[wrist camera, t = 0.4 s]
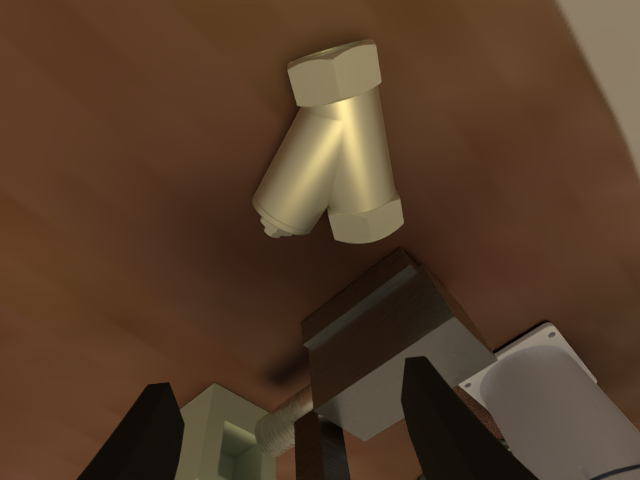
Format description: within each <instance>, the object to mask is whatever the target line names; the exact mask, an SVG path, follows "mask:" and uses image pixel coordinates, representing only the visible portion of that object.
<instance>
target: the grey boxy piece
mask: <svg viewBox="0 0 640 480" xmlns="http://www.w3.org/2000/svg"><path fill="white" fill-rule="evenodd" d="M301 324H302V337H303V345H304V346H306V347H307V348H308V357H309V368H310V379H311V390H312V401H313V411H314V412H316V413H318V414H319V415H321V416H323V417H324V418H326V419H328V420H329V421H331V422H333V423H335V424H336V425H338V426H340V427H341V428H343V429H345V430H346V431H348V432H350V433H351V434H353V435H355V436H357V437H358V438H360V439H362V440H363V441H366V440H368V439H370V438H371V437H373V436H375V435H376V434H378V433H379V432H381V431H383V430H384V429H386V428H388V427H389V426H391V425H393V424H394V423H396V422H398V421H399V420H401V419H403V418H404V417H405V416H404V412H403V408H402V404H401V392H402V383H403V374H404V365H405V358H408V357H418V356H425V357H427V358H428V360H429V361H430V362H431V363H432V365H433V366H434V367H435V369H436V370H437V371H438V372H439V374H440V375H441V376H442V377H443V379H444V380H445V381H446V382H447V383H448V385H449V386H450V387H451V388H454V387H455V386H457V385H459V384H460V383H462V382H463V381H465V380H467V379H468V378H470V377H472V376H473V375H475V374H477V373H478V372H480V371H482V370H483V369H485V368H487V367H488V366H490V365H491V364H493V363H495V362H496V361H498V359H497V358H496V356H495V355H494V353H493V352H492V350H491V349H490V347H489V346H488V345H487V343H486V342H485V340H484V339H483V337H482V336H481V334H480V333H479V331H478V330H477V328H476V327H475V325H474V324H473V322H472V321H471V319H470V318H469V316H468V315H467V313H466V312H465V310H464V309H463V307H462V306H461V304H460V303H459V302H458V301H457V300H456V299H455V298H454V297H453V296H452V295H451V294H450V293H449V292H448V291H447V290H446V289H445V288H444V286H443V285H442V284H441V283H440V282H439V281H438V280H437V279H436V278H435V277H434V276H433V275H432V274H431V273H430V272H429V271H428V270H427V269H426V268H425V267H424V265H423V264H422V263H421V264H420V265H419V266H418V265H417V264H416V263H415V262H414V261H413V260H412V259H411V258H410V257H409V256H408V255H407V254H406V253H405V252H404V251H403V250H402V249H401V247H399V248H397V249H396V250H395V251H393V252H392V253H391V254H390V255H388V256H387V257H386V258H384V259H383V260H382V261H381V262H379V263H378V264H377V265H375V266H374V267H373V268H371V269H370V270H369V271H368V272H366V273H365V274H364V275H362V276H361V277H360V278H359V279H357V280H356V281H355V282H353V283H352V284H351V285H350V286H348V287H347V288H346V289H344V290H343V291H342V292H341V293H339V294H338V295H337V296H335V297H334V298H333V299H331V300H330V301H329V302H328V303H326V304H325V305H324V306H322V307H321V308H320V309H319V310H317V311H316V312H315V313H313V314H312V315H311V316H310V317H308V318H307V319H306V320H304V321H303V322H302V323H301Z"/></svg>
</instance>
